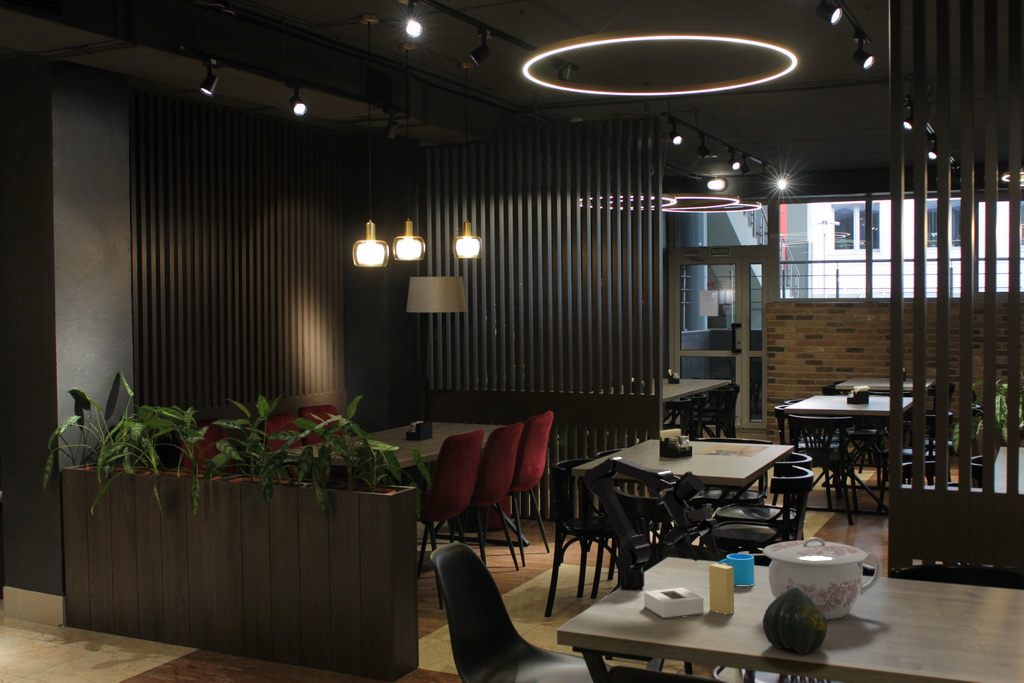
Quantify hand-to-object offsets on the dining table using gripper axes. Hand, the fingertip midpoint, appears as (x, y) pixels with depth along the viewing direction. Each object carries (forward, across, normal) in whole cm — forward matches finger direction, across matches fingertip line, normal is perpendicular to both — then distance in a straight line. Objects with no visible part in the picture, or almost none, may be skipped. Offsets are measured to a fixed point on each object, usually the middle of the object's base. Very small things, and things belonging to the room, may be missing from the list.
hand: (707, 557), depth 283 cm
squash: (+34, -17, -21) cm, 43 cm away
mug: (+6, +25, +15) cm, 29 cm away
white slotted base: (+9, -11, +11) cm, 18 cm away
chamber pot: (+27, +13, -12) cm, 32 cm away
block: (+15, -3, +3) cm, 15 cm away
